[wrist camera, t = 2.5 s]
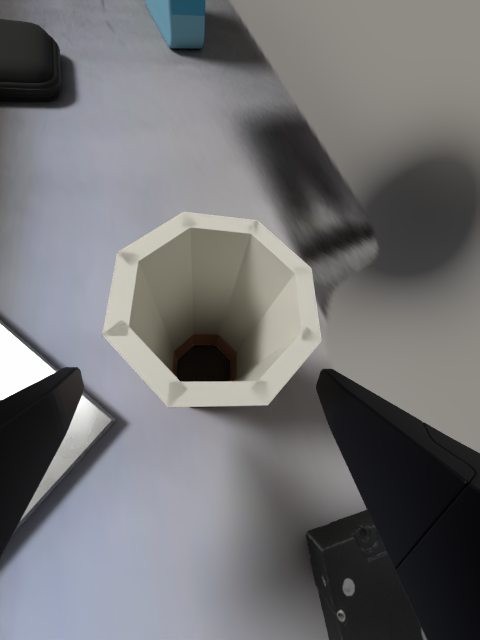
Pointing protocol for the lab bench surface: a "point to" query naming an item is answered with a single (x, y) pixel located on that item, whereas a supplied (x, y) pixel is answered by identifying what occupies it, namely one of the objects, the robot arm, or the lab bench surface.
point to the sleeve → (213, 308)
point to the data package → (180, 21)
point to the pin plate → (86, 426)
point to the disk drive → (359, 583)
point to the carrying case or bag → (28, 63)
